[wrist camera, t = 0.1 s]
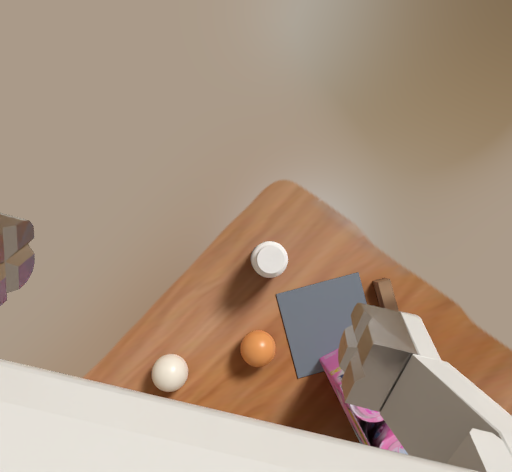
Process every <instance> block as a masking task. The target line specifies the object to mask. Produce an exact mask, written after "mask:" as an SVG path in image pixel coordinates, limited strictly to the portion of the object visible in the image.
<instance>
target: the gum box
mask: <svg viewBox="0 0 512 472" xmlns="http://www.w3.org/2000/svg"><path fill="white" fill-rule="evenodd" d="M338 349H339V348H338ZM338 349H336V350H334V351H333V352H331V353H329V354H327V355H325V356H323V357H321V358H320V359H319V360H320V363H321V365H322V367H323V369H324V371H325V373H326V375H327V377H328V379H329V381H330V383H331V385H332V387H333V389H334V391H335V393H336V395H337V397H338V399H339V401H340V403H341V406H342V408H343V410H344V412H345V414H346V416H347V418H348V420H349V422H350V424H351V426H352V428H353V430H354V432H355V434H356V436H357V438H358V440H359V442H360V444H364V445H369V446H373V447H377V448H381V449H386V450H390V451H394V452H398V453H403V454H407V455H408V453H407V452H406V450H405V449H404V448H403V446H402V445H401V443H400V442H399V441H398V439H397V438H396V436H395V435H394V434H393V432H392V431H391V429H390V428H389V426H388V425H387V424H386V422H385V421H384V419H383V418H382V417H381V415H380V412H377V411H374V410H370V409H366V408H362V407H359V406H355V405H351V404H348V403H345V401H344V395H343V389H342V382H341V380H342V377H343V375H344V372H343V370H342V369H341V368H340V367H339V362H338Z"/></svg>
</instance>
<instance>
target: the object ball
mask: <svg viewBox="0 0 512 472" xmlns="http://www.w3.org/2000/svg"><path fill="white" fill-rule="evenodd" d="M240 349H241V355H242V357H243V359H244V360H245V361H246V362H247V363H248V364H249V365H251V366H254V367H263V366H265V365H267V364H269V363H270V362H271V361H272V360H273V358H274V356H275V353H276V345H275V341H274V339H273V338H272V337H271V335H269V334H268V333H267V332H265V331H261V330H255V331H252V332H250V333H248V334H247V335H246V336H245V337H244V338H243V340H242V343H241V348H240Z"/></svg>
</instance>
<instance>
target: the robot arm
mask: <svg viewBox="0 0 512 472" xmlns="http://www.w3.org/2000/svg"><path fill="white" fill-rule="evenodd" d="M33 238H34V228H33V225H32V223H31V222H30V221H29V220H25V219H21V218H18V217H13V216H10V215H7V214H3V213H0V306H1V305H2V304H3V303H4V302H5V301H6V300H7V293H8V292H12V291H15V290H18V289H20V288H21V287H22V286H23V285H24V284H25V283H26V282H27V281H28V279H29V277H30V275H31V273H32V271H33V267H34V252H33V251H32V249H31V248H30V247H29V245H28V243H29V242H30V241H31V240H32V239H33ZM351 320H352V325H351V326H349V327H347V328H346V329H344V332H343V334H342V337H341V339H340V344H339V349H338V362H339V367H340V368H341V369H342V370H343V372H344V375H343V377H342V380H341V382H342V389H343V395H344V401H345V403H348V404H351V405H355V406H359V407H362V408H366V409H370V410H374V411H377V412H380V415H381V417H382V418H383V419H384V421H385V422H386V424H387V425H388V426H389V428H390V429H391V431H392V432H393V434H394V435H395V436H396V438H397V439H398V441H399V442H400V443H401V445H402V446H403V448H404V449H405V450H406V452H407V453H408V455H407V454H403V453H398V452H394V451H390V450H386V449H381V448H377V447H373V446H369V445H364V444H360V443H356V442H352V441H347V440H343V439H339V438H334V437H330V436H326V435H322V434H317V433H313V432H309V431H305V430H300V429H296V428H292V427H288V426H283V425H279V424H275V423H271V422H266V421H262V420H258V419H254V418H249V417H245V416H241V415H236V414H232V413H228V412H224V411H219V410H215V409H211V408H207V407H202V406H198V405H194V404H190V403H185V402H181V401H177V400H173V399H168V398H164V397H160V396H156V395H151V394H147V393H143V392H138V391H134V390H130V389H126V388H121V387H117V386H113V385H109V384H105V383H100V382H96V381H92V380H88V379H84V378H79V377H75V376H71V375H67V374H62V373H58V372H54V371H49V370H45V369H41V368H37V367H33V366H28V365H24V364H19V363H15V362H11V361H7V360H3V359H0V472H512V416H511V415H510V414H509V413H508V412H506V411H505V410H504V409H503V408H502V407H500V406H499V405H498V404H497V403H496V402H494V401H493V400H492V399H491V398H490V397H489V396H487V395H486V394H485V393H484V392H483V391H481V390H480V389H479V388H478V387H477V386H475V385H474V384H473V383H472V382H471V381H469V380H468V379H467V378H466V377H465V376H463V375H462V374H461V373H460V372H459V371H458V370H456V369H455V368H454V367H453V366H452V365H450V364H449V363H448V362H444V361H441V359H440V357H439V355H438V352H437V350H436V348H435V346H434V344H433V342H432V340H431V338H430V336H429V334H428V332H427V330H426V328H425V326H424V324H423V322H422V320H421V318H420V317H419V316H417V315H414V314H409V313H405V312H400V311H395V310H390V309H386V308H381V307H377V306H372V305H368V304H363V303H357V304H356V306H355V307H354V309H353V311H352V313H351Z"/></svg>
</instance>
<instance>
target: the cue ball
mask: <svg viewBox="0 0 512 472" xmlns="http://www.w3.org/2000/svg"><path fill="white" fill-rule="evenodd" d="M187 377H188V366H187V364H186V362H185V360H184V359H183V358H182V357H180V356H178V355H176V354H167V355H164V356H162V357H160V358H159V359H158V360H157V361H156V362H155V364H154V366H153V368H152V380H153V382H154V384H155V386H156V387H157V388H158V389H160V390H162V391H165V392H172V391H176V390H178V389H179V388H181V387H182V386H183V385H184V383H185V382H186V380H187Z"/></svg>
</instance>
